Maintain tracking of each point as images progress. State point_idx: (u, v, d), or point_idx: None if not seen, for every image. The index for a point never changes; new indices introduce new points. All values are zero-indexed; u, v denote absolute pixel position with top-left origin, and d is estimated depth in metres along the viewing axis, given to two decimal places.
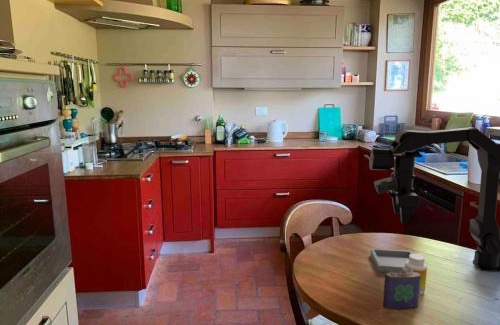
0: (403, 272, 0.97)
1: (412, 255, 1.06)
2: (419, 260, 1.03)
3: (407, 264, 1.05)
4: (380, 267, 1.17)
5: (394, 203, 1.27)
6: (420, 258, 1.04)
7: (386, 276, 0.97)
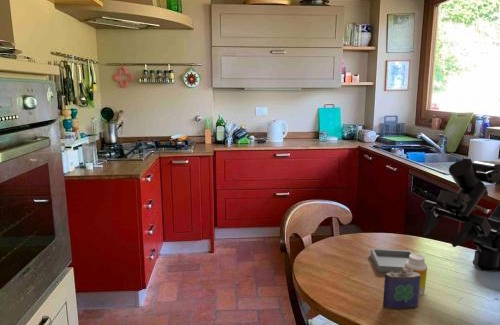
0: (403, 272, 0.97)
1: (412, 255, 1.06)
2: (419, 260, 1.03)
3: (407, 264, 1.05)
4: (380, 267, 1.17)
5: (429, 223, 1.12)
6: (420, 258, 1.04)
7: (386, 276, 0.97)
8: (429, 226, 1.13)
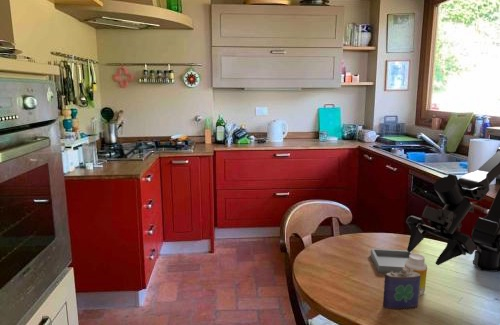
0: (403, 272, 0.97)
1: (412, 255, 1.06)
2: (419, 260, 1.03)
3: (407, 264, 1.05)
4: (380, 267, 1.17)
5: (413, 239, 1.10)
6: (420, 258, 1.04)
7: (386, 276, 0.97)
8: (414, 242, 1.11)
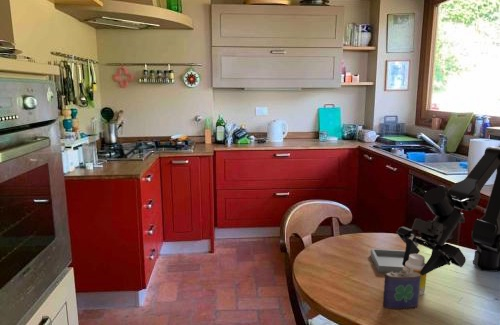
0: (403, 272, 0.97)
1: (412, 255, 1.06)
2: (419, 260, 1.03)
3: (407, 264, 1.05)
4: (380, 267, 1.17)
5: (409, 253, 1.08)
6: (420, 258, 1.04)
7: (386, 276, 0.97)
8: None
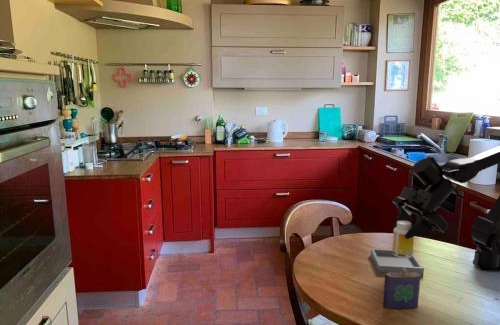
0: (403, 272, 0.97)
1: (400, 221, 1.14)
2: (404, 225, 1.11)
3: (394, 229, 1.14)
4: (380, 267, 1.17)
5: (399, 219, 1.16)
6: (406, 223, 1.12)
7: (386, 276, 0.97)
8: None
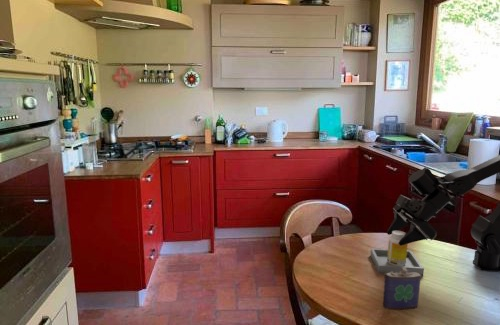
0: (403, 272, 0.97)
1: (395, 231, 1.21)
2: (398, 235, 1.19)
3: (389, 238, 1.22)
4: (380, 267, 1.17)
5: (394, 224, 1.25)
6: (400, 234, 1.19)
7: (386, 276, 0.97)
8: (394, 227, 1.25)
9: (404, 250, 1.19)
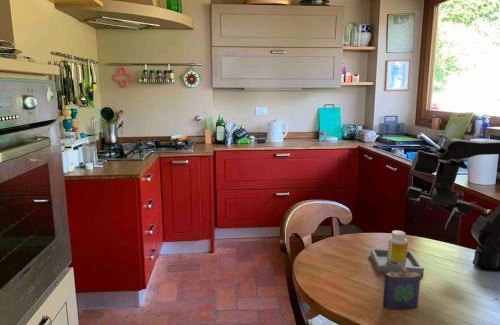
0: (403, 272, 0.97)
1: (395, 231, 1.21)
2: (398, 235, 1.19)
3: (389, 238, 1.22)
4: (380, 267, 1.17)
5: (417, 210, 1.23)
6: (400, 234, 1.19)
7: (386, 276, 0.97)
8: (417, 211, 1.24)
9: (404, 250, 1.19)
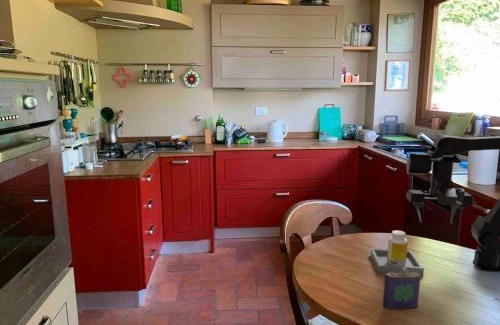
0: (403, 272, 0.97)
1: (395, 231, 1.21)
2: (398, 235, 1.19)
3: (389, 238, 1.22)
4: (380, 267, 1.17)
5: None
6: (400, 234, 1.19)
7: (386, 276, 0.97)
8: None
9: (404, 250, 1.19)
